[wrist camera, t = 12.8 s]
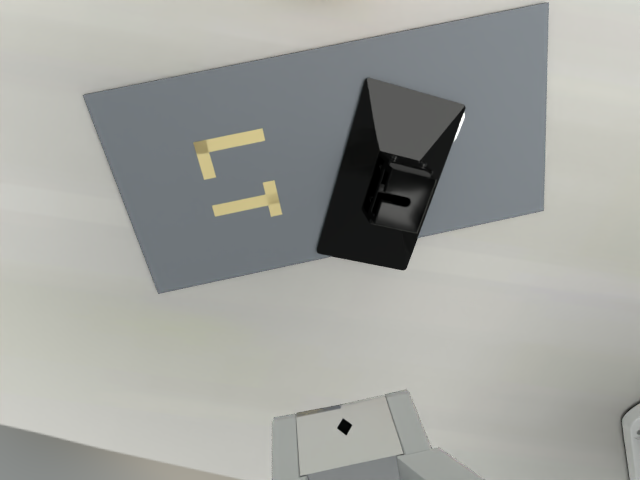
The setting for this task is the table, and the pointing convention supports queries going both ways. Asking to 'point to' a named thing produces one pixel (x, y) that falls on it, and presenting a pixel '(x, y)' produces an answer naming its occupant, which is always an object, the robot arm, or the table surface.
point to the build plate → (388, 174)
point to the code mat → (318, 142)
